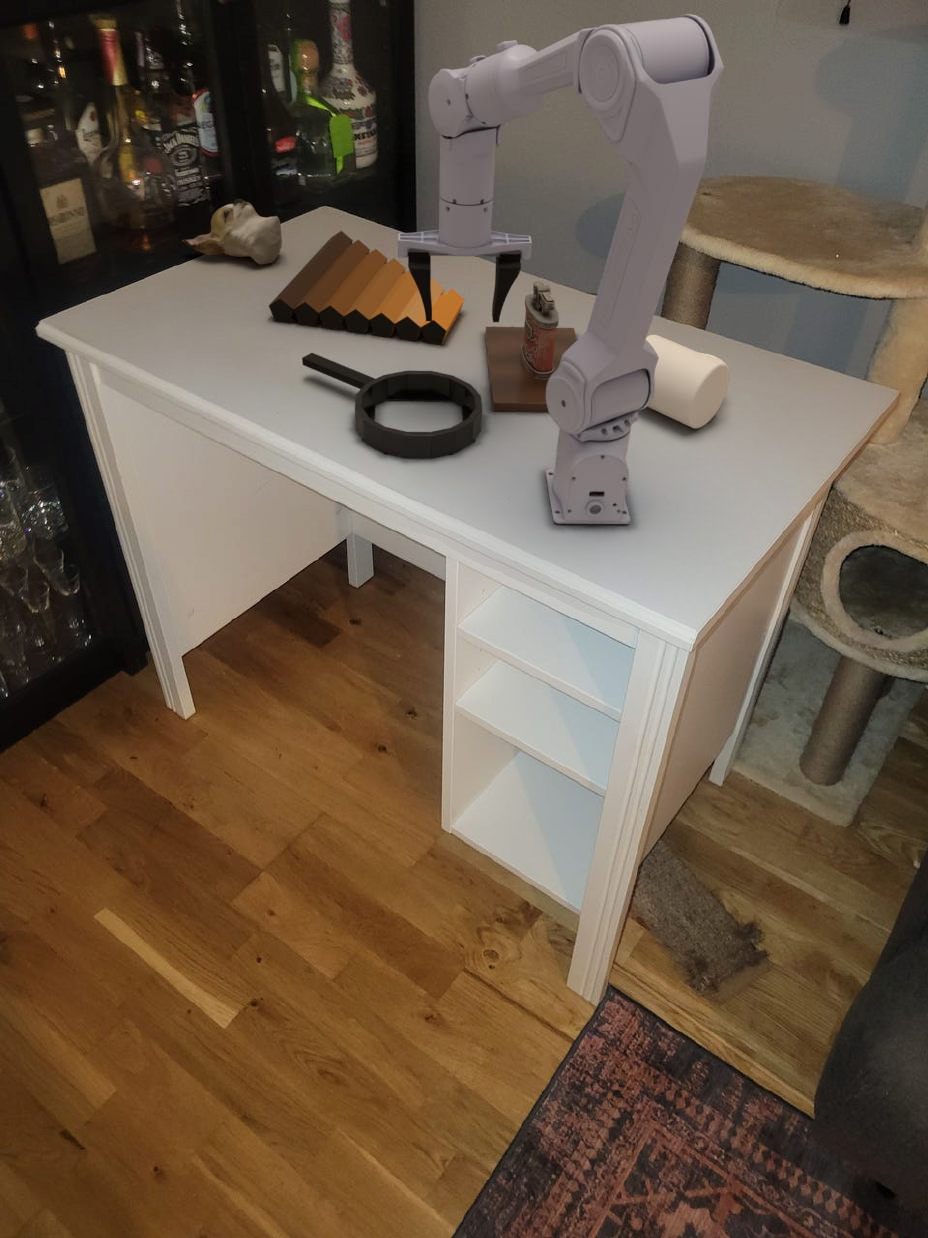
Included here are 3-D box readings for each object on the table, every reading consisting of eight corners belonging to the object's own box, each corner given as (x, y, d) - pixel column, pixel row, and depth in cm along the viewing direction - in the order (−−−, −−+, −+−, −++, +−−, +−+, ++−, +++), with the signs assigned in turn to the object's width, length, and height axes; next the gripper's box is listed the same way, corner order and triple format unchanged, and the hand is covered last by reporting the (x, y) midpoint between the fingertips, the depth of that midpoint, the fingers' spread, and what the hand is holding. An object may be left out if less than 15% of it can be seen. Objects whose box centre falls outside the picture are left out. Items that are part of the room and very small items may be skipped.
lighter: (516, 349, 124) (521, 274, 117) (541, 347, 124) (548, 273, 118) (531, 380, 118) (538, 302, 111) (558, 378, 119) (566, 301, 112)
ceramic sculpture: (253, 216, 134) (171, 202, 140) (262, 277, 140) (183, 261, 145) (297, 194, 141) (217, 182, 147) (304, 253, 147) (227, 239, 152)
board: (592, 412, 115) (593, 403, 114) (493, 411, 115) (493, 402, 114) (572, 335, 130) (573, 327, 129) (485, 334, 129) (485, 326, 129)
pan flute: (331, 250, 148) (270, 320, 130) (330, 228, 146) (267, 296, 128) (487, 271, 144) (446, 345, 127) (488, 249, 142) (446, 321, 124)
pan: (483, 458, 107) (484, 435, 105) (289, 457, 106) (287, 433, 104) (476, 376, 121) (477, 354, 119) (305, 374, 120) (303, 352, 118)
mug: (684, 439, 112) (698, 377, 106) (616, 406, 116) (626, 346, 111) (739, 403, 118) (755, 343, 113) (673, 374, 123) (685, 315, 118)
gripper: (531, 184, 104) (522, 303, 113) (398, 181, 103) (399, 301, 112) (537, 207, 98) (527, 330, 108) (396, 204, 98) (398, 328, 107)
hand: (462, 317), depth 110 cm, fingers open, 7 cm apart
